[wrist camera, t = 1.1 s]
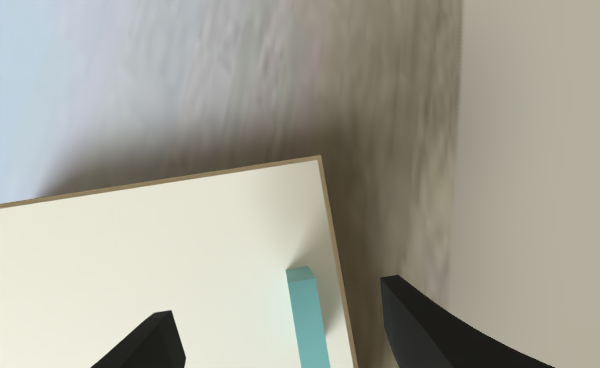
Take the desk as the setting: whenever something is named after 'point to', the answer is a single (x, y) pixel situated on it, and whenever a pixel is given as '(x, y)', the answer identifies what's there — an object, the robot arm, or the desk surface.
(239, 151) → the desk surface
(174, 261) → the lid flap
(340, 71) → the desk surface
